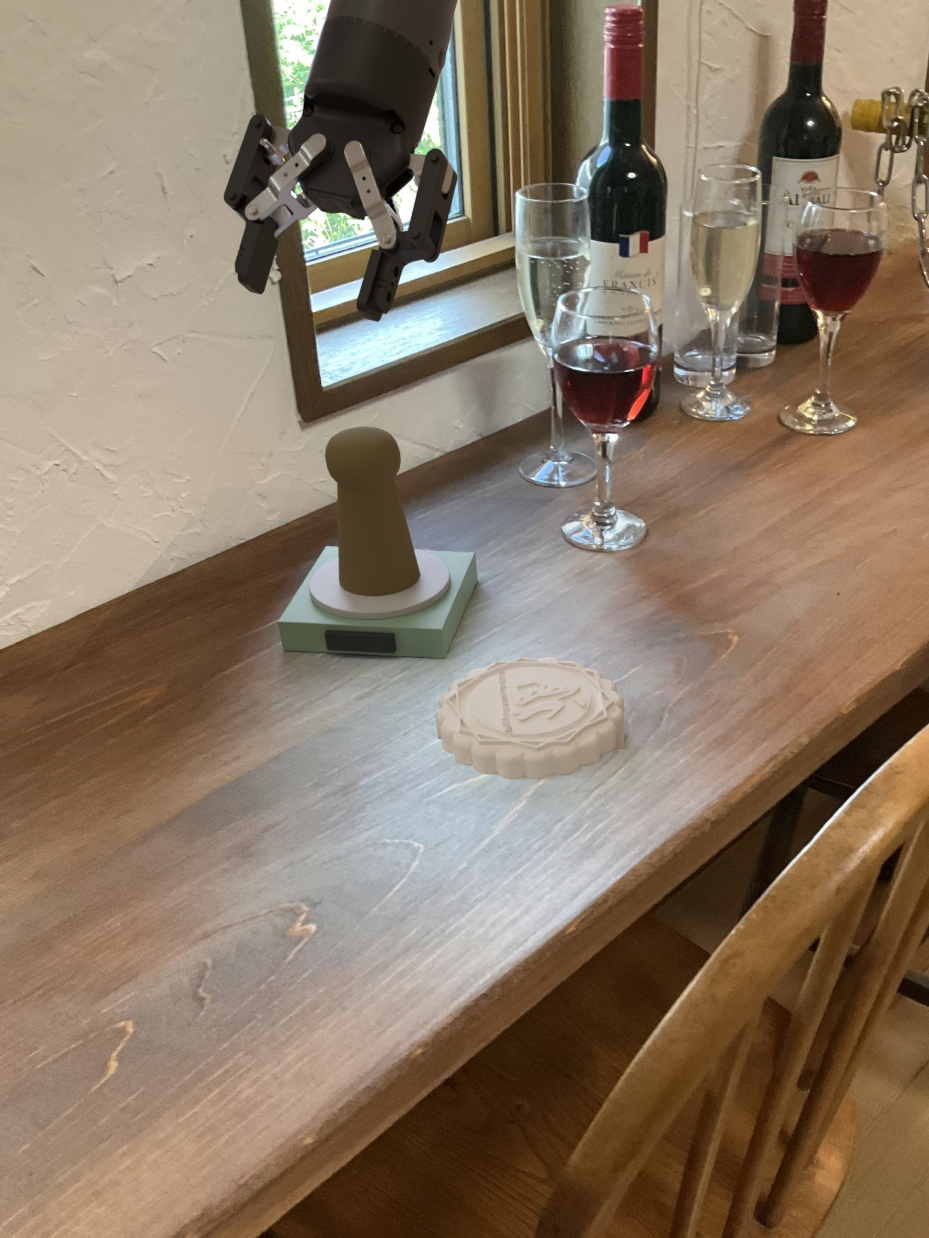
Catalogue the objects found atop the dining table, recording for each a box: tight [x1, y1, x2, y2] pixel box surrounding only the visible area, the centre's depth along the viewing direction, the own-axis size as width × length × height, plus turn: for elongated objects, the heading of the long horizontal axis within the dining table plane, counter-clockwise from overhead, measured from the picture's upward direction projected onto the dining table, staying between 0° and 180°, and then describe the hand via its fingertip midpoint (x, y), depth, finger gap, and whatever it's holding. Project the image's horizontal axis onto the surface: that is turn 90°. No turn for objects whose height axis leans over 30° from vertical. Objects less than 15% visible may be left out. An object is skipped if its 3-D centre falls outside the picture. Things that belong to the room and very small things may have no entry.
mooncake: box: [435, 656, 625, 780], centre depth 82 cm, size 12×12×4 cm
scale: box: [277, 545, 479, 659], centre depth 95 cm, size 12×12×3 cm
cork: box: [324, 426, 421, 596], centre depth 91 cm, size 6×6×11 cm
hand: (307, 302), depth 80 cm, fingers open, 8 cm apart
